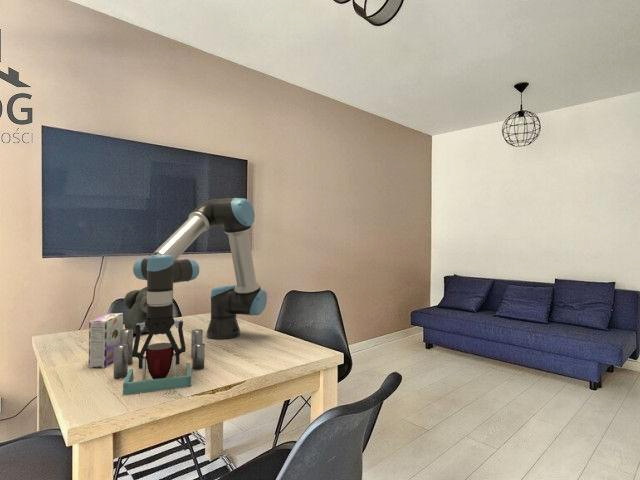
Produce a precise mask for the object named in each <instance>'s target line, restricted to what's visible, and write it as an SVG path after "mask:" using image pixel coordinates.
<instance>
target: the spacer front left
mask: <svg viewBox="0 0 640 480" xmlns="http://www.w3.org/2000/svg"><path fill="white" fill-rule="evenodd" d="M205 346H206V345H205V343H203V342H202V343H197V344H193V345H192V359H191V360H192V361H191V363H192V365H191V366H192V367H191V368H192V369H191V370H195V371H198V370H199V371H200V370H202V369H204V368H205Z"/></svg>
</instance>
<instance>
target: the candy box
mask: <svg viewBox="0 0 640 480" xmlns="http://www.w3.org/2000/svg"><path fill="white" fill-rule="evenodd" d="M88 323H89V326H88V330H89V331H88V333H89V334H88V368H89V369H93V368H94V369H104V368H107V367H108V366H110V365H111V364H114V346H115V345H118V344H120V331H121V330H124V313H123V312H118V313H112V312H111V313H107V314H104V315H101V316H99V317H97V318H94V319H92V320H89V321H88Z"/></svg>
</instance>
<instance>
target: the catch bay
mask: <svg viewBox="0 0 640 480" xmlns="http://www.w3.org/2000/svg"><path fill="white" fill-rule="evenodd" d="M185 364H186V365H185V366H186V369H185V372H186V373H185V374H186V375H181V376H175V377H173V376H172V377H171V376H170V377H166V378H161V379H152V378H151V379H145V380H137V381H133V380H134V368H129V369H128V373H127V376H126V377H124V381H123V383H122V395H123V396H124V395H132V394H133V395H135V394H139V393H140V392H141V393H148V391H149V392H156V391H155V390H157V391H163V389H165V390H172V389H179V387H181V388H186V387H185V386H188V387H192V371H191V370H192V369H191V368H192V367H191V363H190V362H186V363H185ZM141 393H140V394H141Z"/></svg>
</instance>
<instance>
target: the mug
mask: <svg viewBox="0 0 640 480" xmlns="http://www.w3.org/2000/svg"><path fill="white" fill-rule="evenodd" d="M173 353H175V351H174V349H173V347H172V345H171V343H170V342H157V343H152V344H149V345H148V347H147V349H146V351H145V356H146V367H147V371H148V373H149V376H150V377H151V380H152V379H161V378H168V377H167V376H168V375H169V373H170V370H171V369H172V365H173Z"/></svg>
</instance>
